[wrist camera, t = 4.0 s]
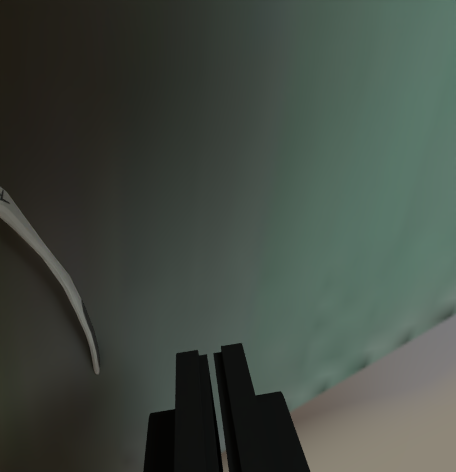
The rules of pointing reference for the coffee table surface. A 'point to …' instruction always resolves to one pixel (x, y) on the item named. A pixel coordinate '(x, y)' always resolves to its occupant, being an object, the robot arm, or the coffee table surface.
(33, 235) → the sunglasses
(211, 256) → the coffee table surface
